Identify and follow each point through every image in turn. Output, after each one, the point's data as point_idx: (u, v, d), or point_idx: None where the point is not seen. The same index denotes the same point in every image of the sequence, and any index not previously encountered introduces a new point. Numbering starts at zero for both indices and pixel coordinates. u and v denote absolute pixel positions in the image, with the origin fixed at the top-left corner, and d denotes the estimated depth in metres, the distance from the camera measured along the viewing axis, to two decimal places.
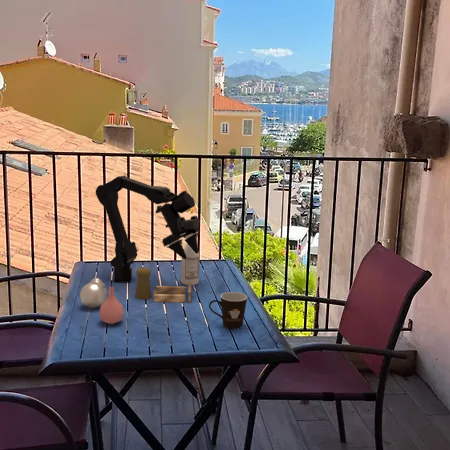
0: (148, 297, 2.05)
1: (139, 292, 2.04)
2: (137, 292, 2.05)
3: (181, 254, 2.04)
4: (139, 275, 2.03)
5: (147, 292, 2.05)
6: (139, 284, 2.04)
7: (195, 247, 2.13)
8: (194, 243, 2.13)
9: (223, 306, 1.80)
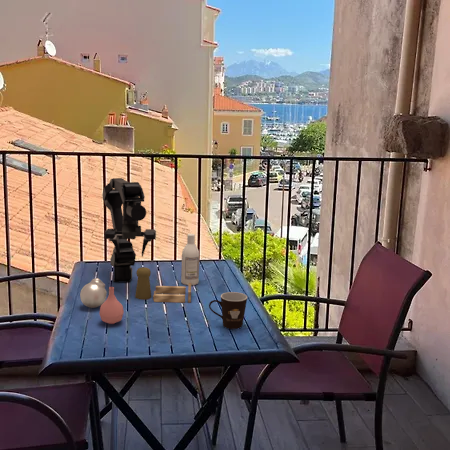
0: (148, 297, 2.05)
1: (139, 292, 2.04)
2: (137, 292, 2.05)
3: None
4: (139, 275, 2.03)
5: (147, 292, 2.05)
6: (139, 284, 2.04)
7: (142, 250, 2.12)
8: None
9: (223, 306, 1.80)
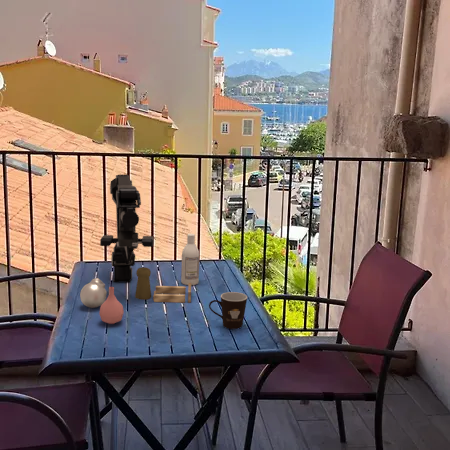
0: (148, 297, 2.05)
1: (139, 292, 2.04)
2: (137, 292, 2.05)
3: None
4: (139, 275, 2.03)
5: (147, 292, 2.05)
6: (139, 284, 2.04)
7: (127, 258, 2.04)
8: (128, 254, 2.03)
9: (223, 306, 1.80)
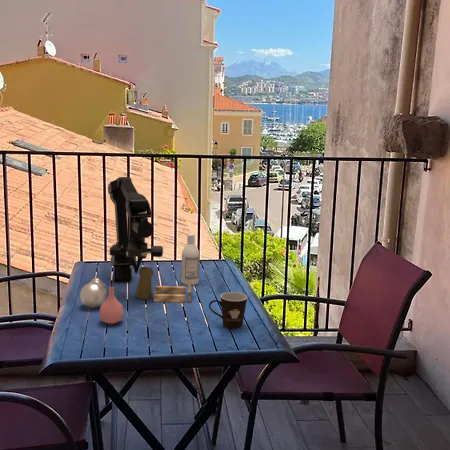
0: (148, 297, 2.05)
1: (140, 291, 2.04)
2: (138, 291, 2.05)
3: None
4: (142, 274, 2.03)
5: (147, 291, 2.05)
6: (140, 283, 2.04)
7: None
8: (137, 263, 2.03)
9: (223, 306, 1.80)
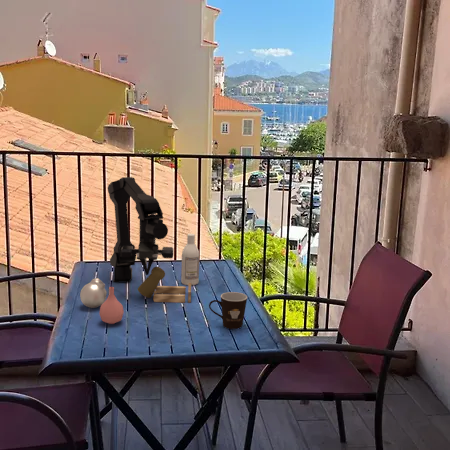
0: (149, 296, 2.05)
1: (144, 288, 2.04)
2: (142, 287, 2.04)
3: None
4: (154, 274, 2.03)
5: (151, 291, 2.04)
6: (148, 281, 2.04)
7: None
8: None
9: (223, 306, 1.80)
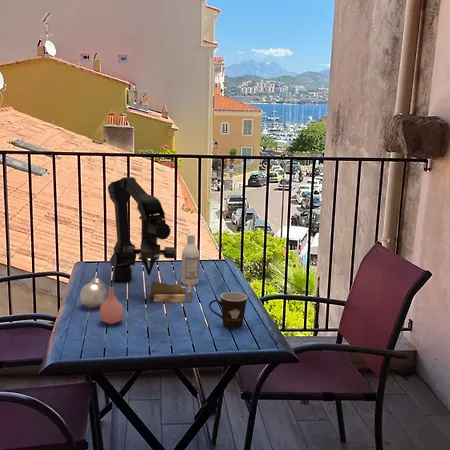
0: (151, 295, 2.04)
1: (158, 286, 2.04)
2: (157, 284, 2.05)
3: (146, 269, 2.05)
4: (175, 288, 2.05)
5: None
6: (165, 287, 2.05)
7: None
8: None
9: (223, 306, 1.80)
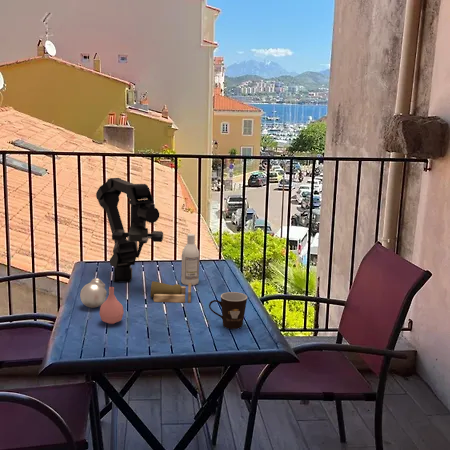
0: (151, 295, 2.04)
1: (158, 286, 2.04)
2: (157, 284, 2.05)
3: None
4: (175, 288, 2.05)
5: None
6: (165, 287, 2.05)
7: (137, 251, 2.13)
8: (138, 248, 2.12)
9: (223, 306, 1.80)
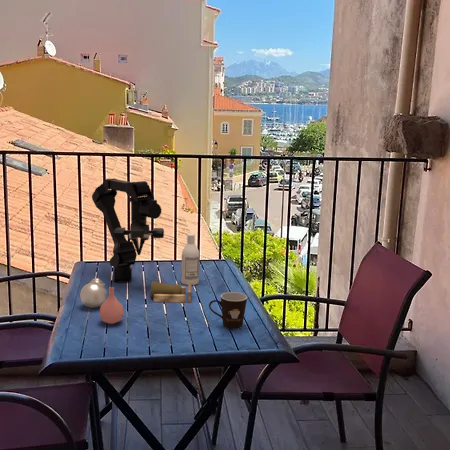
0: (151, 295, 2.04)
1: (158, 286, 2.04)
2: (157, 284, 2.05)
3: None
4: (175, 288, 2.05)
5: None
6: (165, 287, 2.05)
7: None
8: None
9: (223, 306, 1.80)
